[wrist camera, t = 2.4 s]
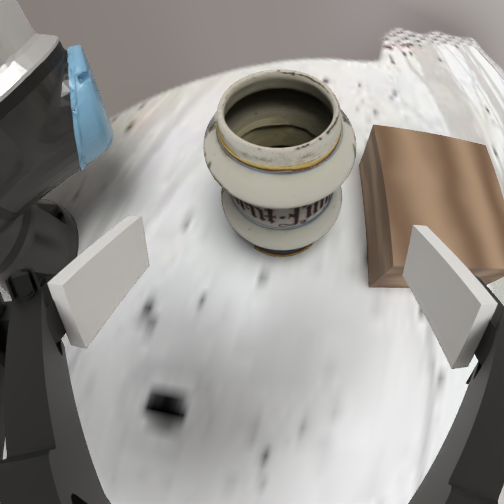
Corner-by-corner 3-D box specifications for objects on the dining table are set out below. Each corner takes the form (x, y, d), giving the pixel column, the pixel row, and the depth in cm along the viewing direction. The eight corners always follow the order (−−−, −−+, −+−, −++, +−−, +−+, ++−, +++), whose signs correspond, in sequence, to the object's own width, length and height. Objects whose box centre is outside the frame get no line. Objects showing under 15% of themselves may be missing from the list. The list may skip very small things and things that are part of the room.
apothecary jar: (208, 220, 36) (157, 114, 19) (277, 157, 39) (272, 40, 22) (285, 289, 33) (292, 213, 16) (352, 214, 35) (399, 105, 18)
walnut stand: (368, 287, 32) (393, 266, 25) (359, 165, 37) (373, 124, 30) (480, 287, 30) (518, 269, 23) (460, 177, 36) (485, 145, 28)
